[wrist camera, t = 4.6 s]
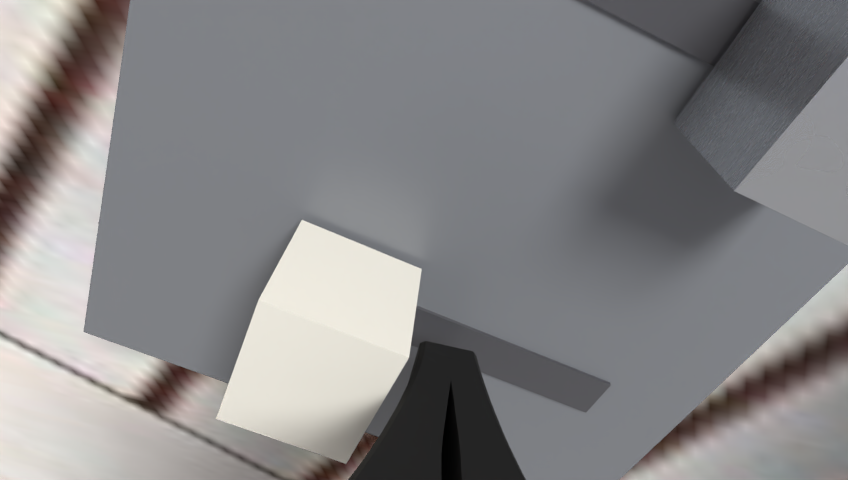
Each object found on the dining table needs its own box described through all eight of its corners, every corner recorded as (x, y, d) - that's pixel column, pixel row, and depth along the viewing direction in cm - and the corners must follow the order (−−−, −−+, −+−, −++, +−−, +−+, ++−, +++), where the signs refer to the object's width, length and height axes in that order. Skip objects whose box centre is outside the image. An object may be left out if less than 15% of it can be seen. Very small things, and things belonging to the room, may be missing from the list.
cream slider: (421, 268, 13) (408, 357, 11) (367, 367, 15) (345, 463, 12) (301, 219, 13) (259, 299, 10) (261, 327, 14) (215, 419, 12)
